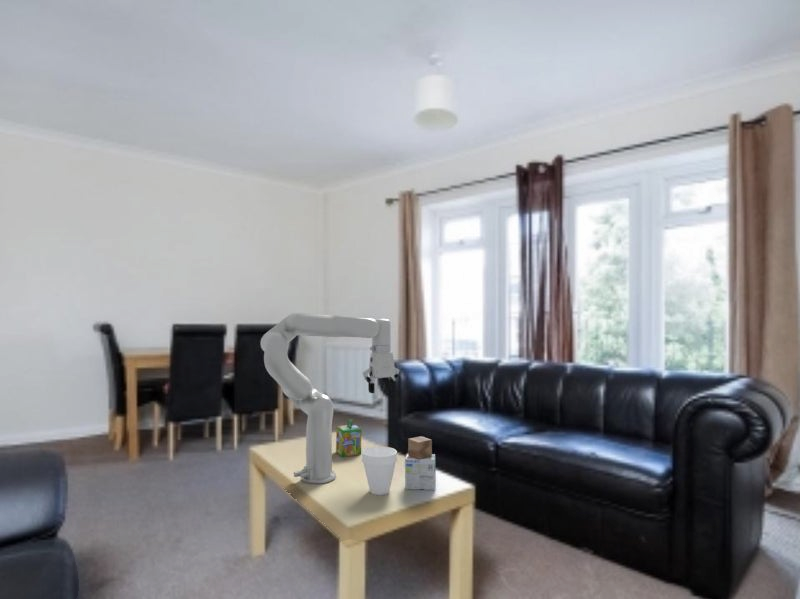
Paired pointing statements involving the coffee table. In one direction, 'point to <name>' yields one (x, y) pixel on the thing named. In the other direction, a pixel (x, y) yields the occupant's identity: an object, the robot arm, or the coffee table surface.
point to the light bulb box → (420, 473)
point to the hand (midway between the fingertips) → (381, 391)
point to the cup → (379, 468)
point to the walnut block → (420, 447)
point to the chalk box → (348, 440)
